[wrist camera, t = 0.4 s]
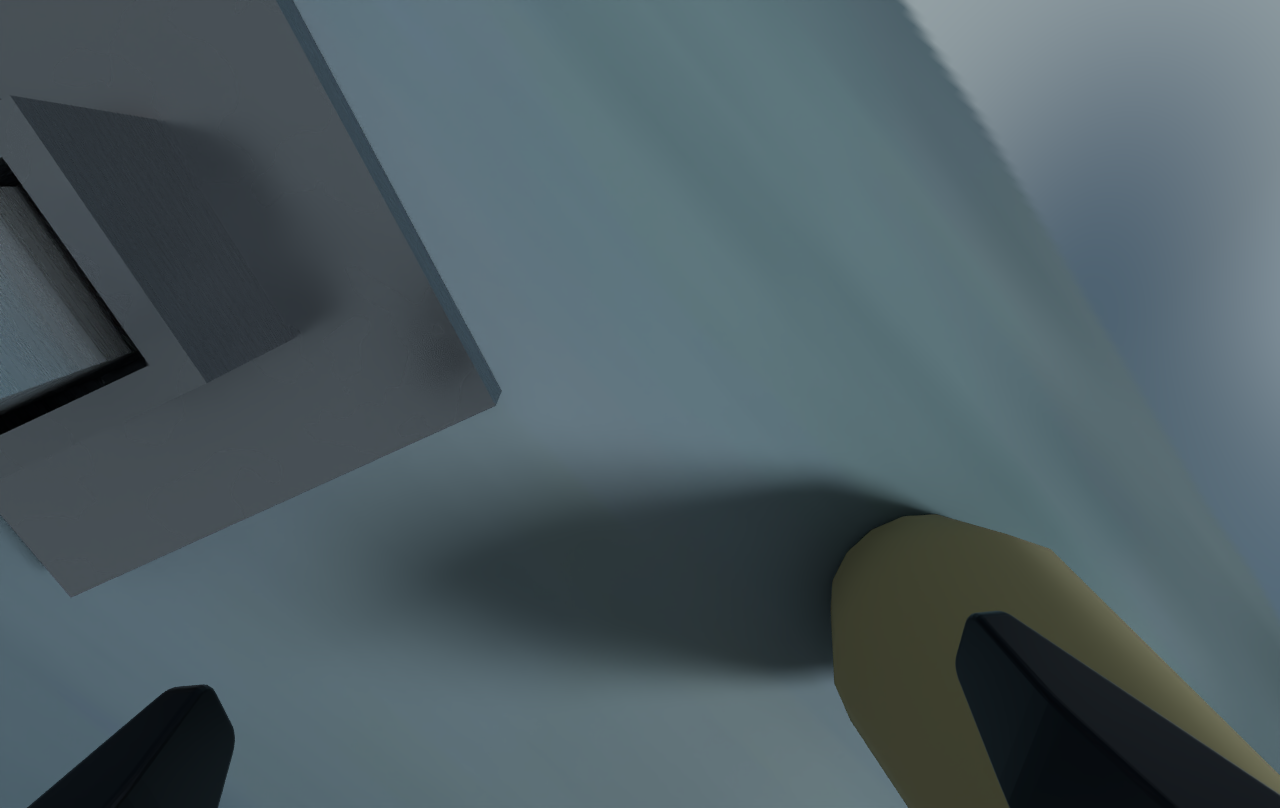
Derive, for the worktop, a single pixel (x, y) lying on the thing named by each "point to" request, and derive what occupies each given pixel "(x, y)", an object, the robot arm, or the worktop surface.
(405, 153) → the worktop surface
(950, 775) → the squeeze bottle
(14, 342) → the block
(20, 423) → the stand
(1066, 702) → the robot arm
